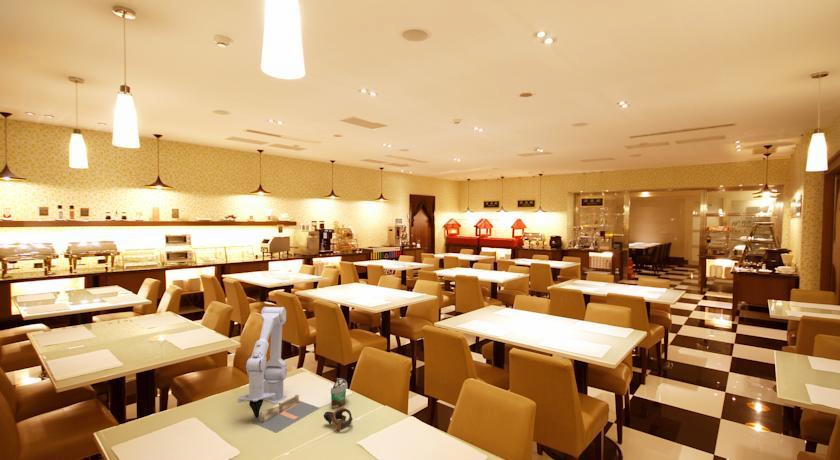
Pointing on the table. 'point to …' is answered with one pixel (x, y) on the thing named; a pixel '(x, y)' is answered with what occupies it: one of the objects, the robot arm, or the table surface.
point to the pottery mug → (336, 416)
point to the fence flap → (269, 413)
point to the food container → (338, 393)
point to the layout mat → (286, 417)
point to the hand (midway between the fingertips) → (256, 416)
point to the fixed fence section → (288, 403)
